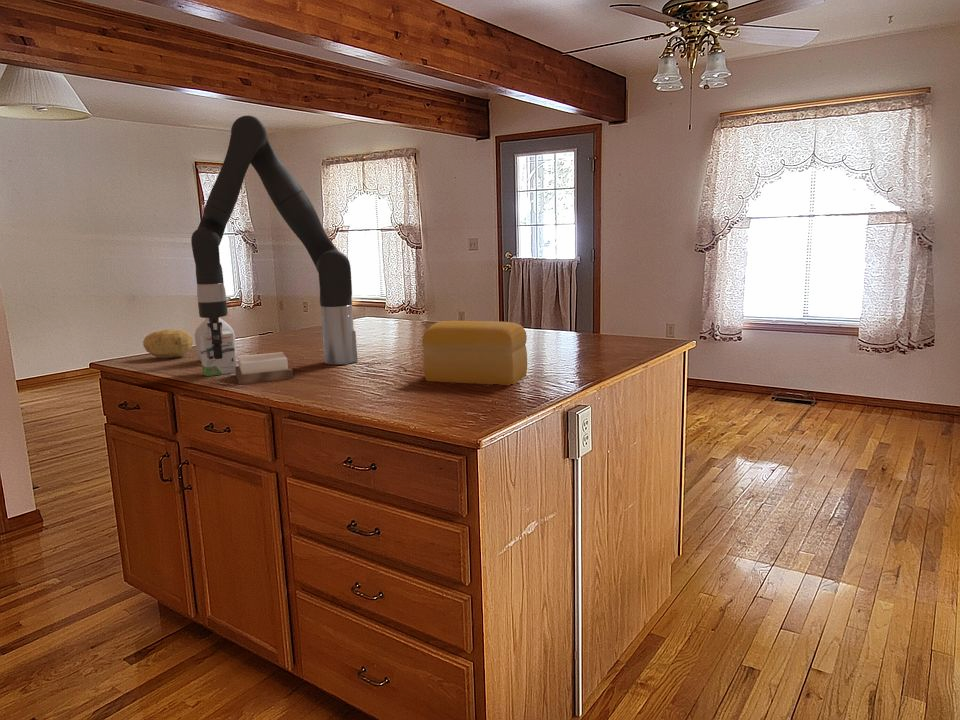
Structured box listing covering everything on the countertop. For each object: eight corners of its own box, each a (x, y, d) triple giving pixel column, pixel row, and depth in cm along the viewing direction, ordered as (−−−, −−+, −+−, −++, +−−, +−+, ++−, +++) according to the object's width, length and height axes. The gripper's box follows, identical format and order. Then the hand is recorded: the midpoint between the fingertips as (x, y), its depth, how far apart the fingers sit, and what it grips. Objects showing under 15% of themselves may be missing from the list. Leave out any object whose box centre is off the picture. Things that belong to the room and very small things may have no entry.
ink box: (206, 376, 193) (201, 335, 190) (202, 374, 197) (197, 333, 194) (237, 372, 197) (233, 331, 195) (233, 369, 201) (229, 329, 199)
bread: (528, 375, 180) (527, 318, 177) (512, 386, 169) (511, 325, 166) (443, 371, 189) (441, 317, 186) (423, 381, 177) (420, 324, 175)
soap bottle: (240, 359, 218) (232, 287, 214) (214, 364, 210) (205, 290, 206) (220, 356, 223) (213, 286, 219) (194, 362, 216) (186, 289, 211)
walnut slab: (287, 371, 199) (286, 361, 199) (293, 380, 186) (292, 370, 186) (236, 377, 194) (235, 366, 193) (239, 386, 181) (238, 375, 181)
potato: (177, 361, 218) (174, 331, 217) (141, 360, 223) (137, 331, 221) (199, 355, 228) (196, 327, 226) (163, 354, 232) (160, 326, 230)
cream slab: (283, 362, 197) (282, 351, 197) (288, 369, 187) (287, 358, 186) (239, 366, 193) (238, 356, 192) (242, 374, 182) (240, 363, 182)
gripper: (227, 301, 188) (233, 359, 191) (225, 296, 201) (230, 351, 204) (197, 302, 185) (204, 361, 188) (197, 298, 198) (203, 353, 201)
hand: (217, 356), depth 196 cm, fingers open, 8 cm apart
